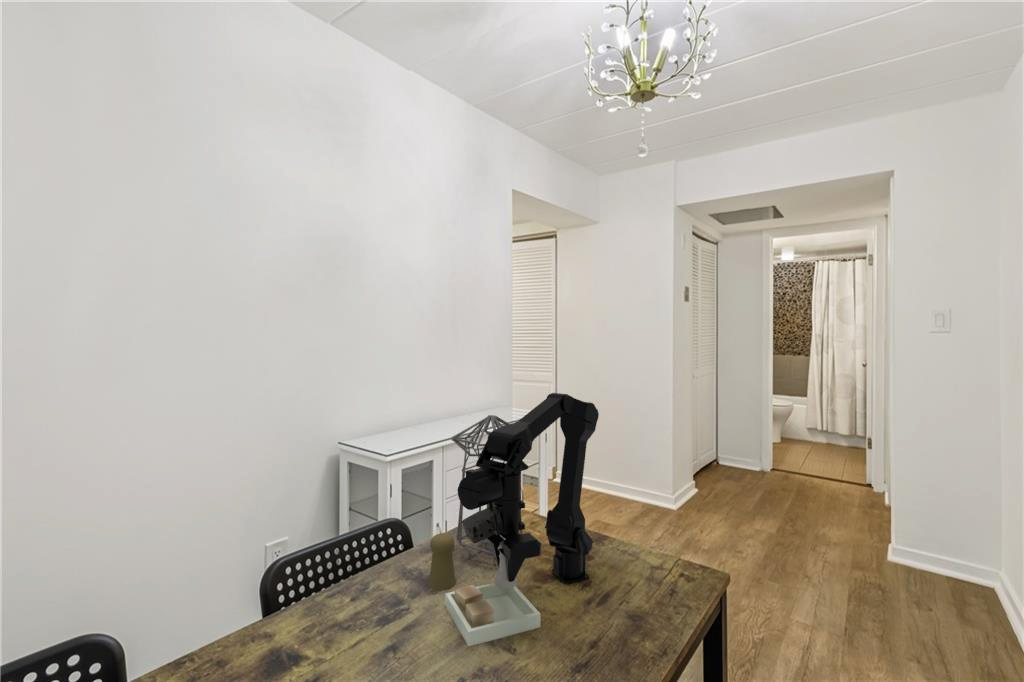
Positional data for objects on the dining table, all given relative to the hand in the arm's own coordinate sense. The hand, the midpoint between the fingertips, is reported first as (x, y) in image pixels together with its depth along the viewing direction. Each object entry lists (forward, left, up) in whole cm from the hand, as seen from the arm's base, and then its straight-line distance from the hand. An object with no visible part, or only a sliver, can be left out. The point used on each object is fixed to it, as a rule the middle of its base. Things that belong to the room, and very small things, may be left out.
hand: (506, 575), depth 96 cm
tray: (+3, 0, -8) cm, 8 cm away
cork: (+8, -16, -8) cm, 20 cm away
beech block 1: (+7, -3, -7) cm, 10 cm away
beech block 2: (+7, +3, -7) cm, 10 cm away
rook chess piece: (0, 0, -2) cm, 2 cm away
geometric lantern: (-7, -25, -8) cm, 27 cm away
